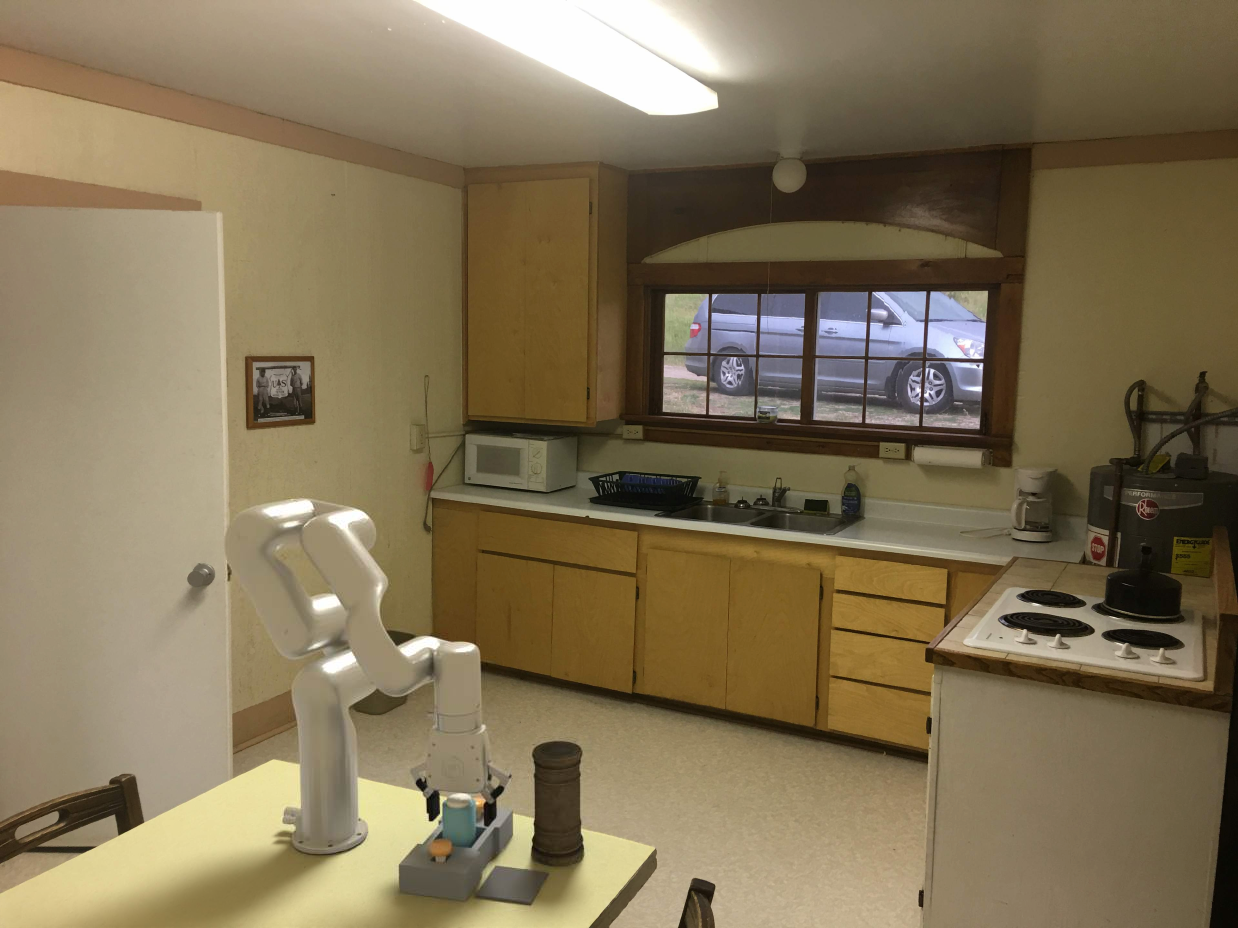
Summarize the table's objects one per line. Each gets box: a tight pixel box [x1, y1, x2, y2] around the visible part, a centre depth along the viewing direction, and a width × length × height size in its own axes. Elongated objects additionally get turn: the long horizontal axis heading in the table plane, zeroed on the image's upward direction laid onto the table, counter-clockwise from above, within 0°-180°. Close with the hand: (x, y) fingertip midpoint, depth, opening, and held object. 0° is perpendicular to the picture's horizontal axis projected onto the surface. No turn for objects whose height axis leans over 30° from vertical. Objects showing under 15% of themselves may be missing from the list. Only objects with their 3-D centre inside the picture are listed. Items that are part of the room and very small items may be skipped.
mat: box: [474, 865, 549, 906], centre depth 147 cm, size 9×9×1 cm
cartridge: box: [441, 792, 476, 848], centre depth 154 cm, size 5×5×11 cm
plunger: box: [430, 839, 452, 863], centre depth 147 cm, size 3×3×6 cm
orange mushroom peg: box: [472, 797, 486, 819], centre depth 161 cm, size 3×3×6 cm
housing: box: [398, 807, 514, 902], centre depth 154 cm, size 11×22×4 cm, turn 167°
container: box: [530, 740, 585, 867], centre depth 157 cm, size 9×9×18 cm
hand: (461, 820), depth 154 cm, fingers open, 9 cm apart
